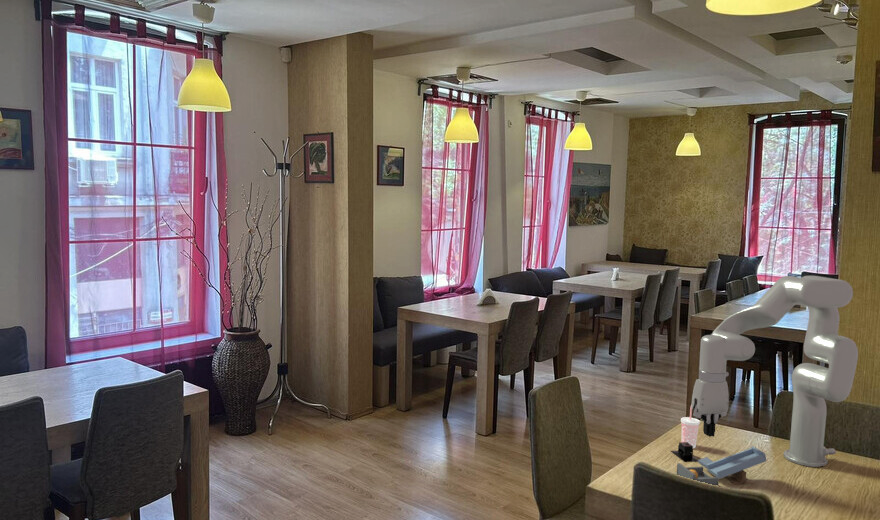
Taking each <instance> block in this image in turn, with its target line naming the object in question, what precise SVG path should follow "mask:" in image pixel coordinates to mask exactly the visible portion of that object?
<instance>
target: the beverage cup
mask: <svg viewBox="0 0 880 520" xmlns="http://www.w3.org/2000/svg"><path fill="white" fill-rule="evenodd" d="M692 411H693V409H692V408H691V406H690V410H689V416H687V417H686V416H684V417H681V418H680V423H681V438H680V439H681V441H680V442H688V443H689V444H690V445H692V446H693V449H695V448H696V446H697V441H698V435H699V434H698V432H699V426H700V424H701V420H699V418H696V417H692V415H693V414H692Z"/></svg>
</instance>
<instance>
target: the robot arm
mask: <svg viewBox="0 0 880 520" xmlns="http://www.w3.org/2000/svg"><path fill="white" fill-rule="evenodd" d="M853 295H854V291H853V287H852V286H851V284H850V283H849V282H847V281H846V280H843V279H837V278H832V277H825V276H819V275H804V276H801V277H800V276H794V275H786V276H784V275H783V276H782V277H780V278H778V279H777V281H776V282H774V283H773V285H772V286H771V287H770V288H769V289H768V290H767V291H766V292H765V293H764V294H763V295H762V296H761V297H760V298H759V299H758V300H757V301H756V302H755V303H754V304H753V305H751V306H749V307H745V308H744V309H741V310H739V311H738V312H735V313H734V314H732V315H730V316H727V317H726V318H725V319H724V320H723V321H721V323H720V324H719V325H718V326H717V327H716V328H715V329H714V330H713V331H712V333H710V334H706V335H704V336H702V337H701V338H700V348H699V349H700V351H699V365H698V366H699V368H698V379H697V378H696V380H695V382H694V385H693V390H692V396H691V405H690V407H691V408H692V411H693V414H692V416H693V417H694V418H696V419H700V420H701V421H702V422H703V428H702V429H703V430H702V431H703V434H704V435H705V436H707V437H709V438H710V437H715V432H716V424H718V421H719V420H720V419H721V418H722V417H726V416H727V414H728V411H729V407H730V406H729V403H730V395H729V387H728V382H727V380H726V378H727V377H729V376H730V375H729V374H730V373H729V372H728V371H727V361H738V362H742V361H747V360H750V359H752V357H753V356H754V354H755V351H756V347H755V343H754V341H752V339H750V338H749V337H747V336H743V335H741V334H743V333H745V332H747V331H750V330H756V329H763V328H764V329H765V328H768V327H769V328H770V327H772V326H775V325H777V324H778V323H779V322H780V321H781V320H782V319H783V318H784V317H785V316H786V315H787V314H788V313H789V311H791V309H792V308H793V307H794V306H796V305H798V306H802V307H806V308H807V309H808V323H807V328H806V332H805V338H804V343H803V352H804V355H806V357H808V359H811V360H814V361H818V362H821V363H824V364H828V367H825V366H823V365H818V364H815V363H812V362H811V363H810V362H803V363H800V364H798V365H797V366H796V367H794V369H793V371H792V374H791V384H792V391H793V394H792V395H793V399H792V400H793V403H792V412H791V413H792V414H791V415H792V416H791V424H790V425H791V426H790V427H791V428H790V439H789V449H785V450H784V451H783V457H784V458H785V459H787V461H790V462H792V463H794V464H797V465H799V466H806V467H810V468H811V467H813V468H821V467H820V466H823V467H825V466H824V465H826V464H827V465H828V463H829V462H828V458H827V457H826V456H828V455H829V456H830V455H835V454H836V453H837V452H836V449H835V448H826V446H824V443H825V435H826V433H825V431H826V422H827V420H826V419H827V414H828V413H827V410H828V409H827V403H826V400H827V401H830V402H833V403H834V402H835V403H842V402H844V401H845V400H846V399H847V398H848V397H849V396H850V394H851V391H852V389H853V384H854V379H855V373H856V370H857V364H858V360H859V359H858V358H859V350H858V347H857V344H856V342H855V341H854V340H852V339H851V338H850V337H847V336H843V335H839V326H840V313H839V310H838V308H844V307H845V306H847V305H848V304H849V303H851V301H852V300H853ZM827 465H826V466H827Z"/></svg>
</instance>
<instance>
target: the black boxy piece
mask: <svg viewBox="0 0 880 520" xmlns="http://www.w3.org/2000/svg"><path fill="white" fill-rule="evenodd" d="M677 447H678V448H677V450H670V452H671V453H672V454H673V455H675V456H676V457H677V458H678V459H679V460H681V461H682V462H683V463H693V462H694V463H699V462H698V460H699V459H698V458H697V457H695V456H694V448H693V446H692V445H690V444H689V443H688V442H681V441H679V443H678V446H677Z"/></svg>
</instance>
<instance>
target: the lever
mask: <svg viewBox="0 0 880 520" xmlns="http://www.w3.org/2000/svg"><path fill="white" fill-rule="evenodd" d="M766 456H767V455H766V453H765V452H764V451H762V450H760V449H759V448H757V447H755V446H750V448H748V449H747V448H746V449H744V450H742V451H739V452H737V453H734V454H732V455H729V456H725V457H723V458H720V459H717V460H715V461H713V460H712V459H711V458H709V457H708V456H706V457H704V458H703V457H702V458H701V459H698V462H697V463H698V464H699V465H701V467H703V468H705V469H707V472H709V473H710V474H712V476H714V477H718V478H719V480H720V479H724V477H725V476H728V475H731V474H733V473H736V472H739V471H741V470H743V471H745V470H747V469H750V468H752V467H755V466H757V465H760V464H762V463H763V464H764V463H765V462H767V457H766Z"/></svg>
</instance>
